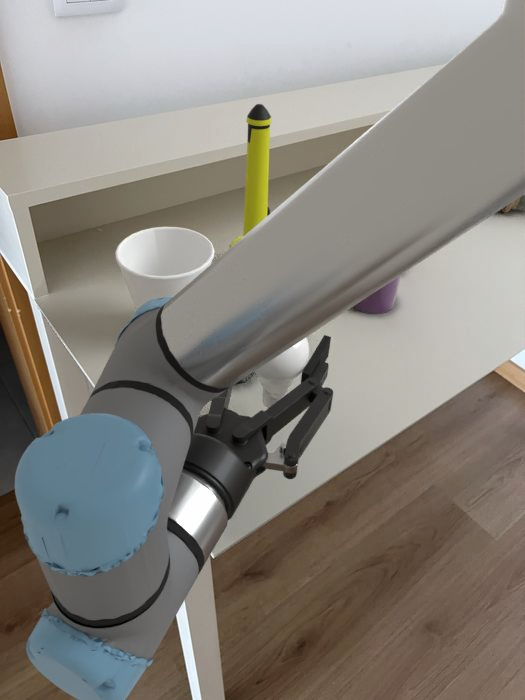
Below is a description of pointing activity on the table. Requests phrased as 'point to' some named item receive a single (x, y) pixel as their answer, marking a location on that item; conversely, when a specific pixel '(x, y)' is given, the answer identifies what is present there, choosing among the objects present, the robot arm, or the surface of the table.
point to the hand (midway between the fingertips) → (295, 336)
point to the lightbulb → (283, 372)
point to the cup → (162, 261)
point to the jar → (380, 299)
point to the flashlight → (256, 169)
